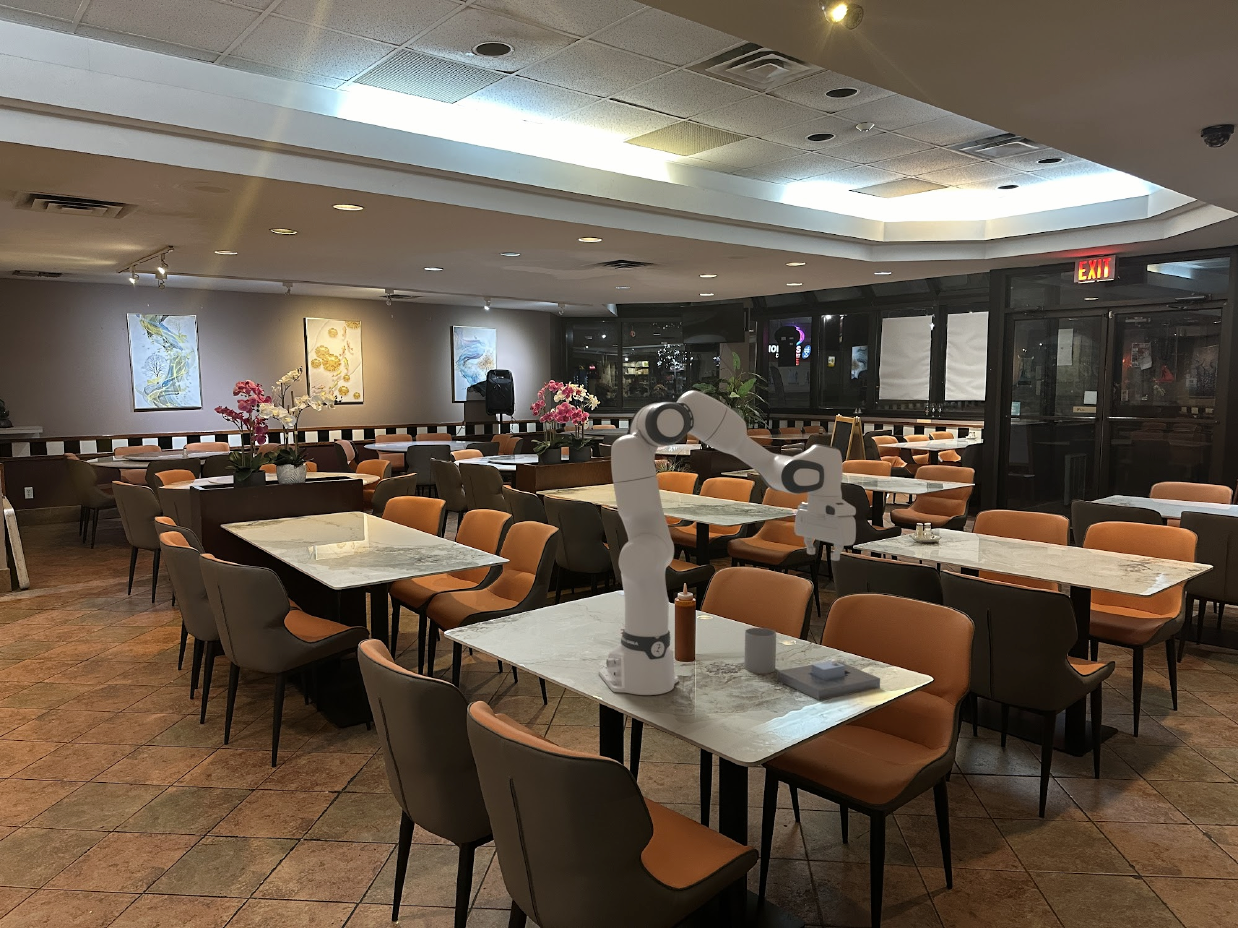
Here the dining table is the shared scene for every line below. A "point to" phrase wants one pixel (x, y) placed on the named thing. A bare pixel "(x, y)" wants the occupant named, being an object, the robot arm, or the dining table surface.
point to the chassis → (828, 682)
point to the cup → (760, 650)
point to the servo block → (828, 670)
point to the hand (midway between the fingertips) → (822, 557)
